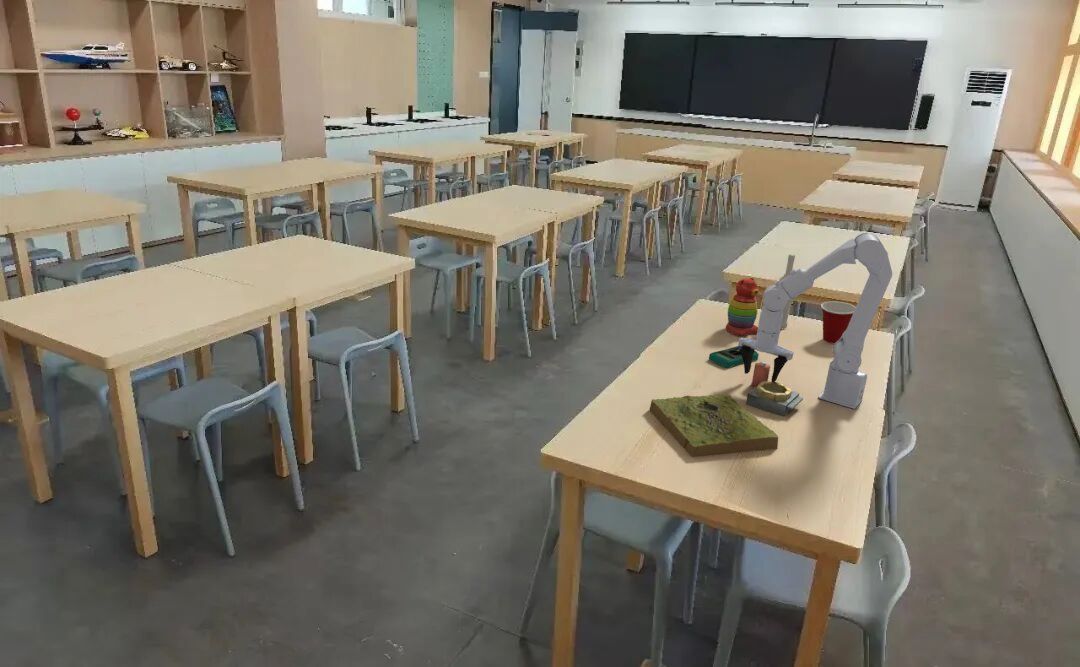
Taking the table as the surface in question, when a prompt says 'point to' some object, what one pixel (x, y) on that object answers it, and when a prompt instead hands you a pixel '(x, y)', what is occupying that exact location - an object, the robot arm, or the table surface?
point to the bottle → (787, 307)
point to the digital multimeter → (729, 357)
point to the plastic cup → (835, 319)
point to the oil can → (760, 373)
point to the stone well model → (773, 398)
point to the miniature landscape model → (712, 425)
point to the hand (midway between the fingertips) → (760, 376)
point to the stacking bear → (743, 309)
